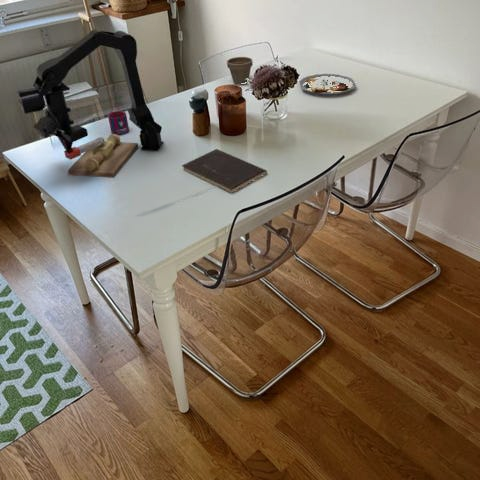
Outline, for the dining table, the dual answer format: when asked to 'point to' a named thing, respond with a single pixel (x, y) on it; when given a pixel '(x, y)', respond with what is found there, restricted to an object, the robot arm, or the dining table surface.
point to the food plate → (318, 90)
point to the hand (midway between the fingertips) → (68, 151)
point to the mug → (118, 122)
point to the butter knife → (198, 193)
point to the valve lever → (83, 148)
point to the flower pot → (240, 68)
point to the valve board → (105, 164)
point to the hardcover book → (224, 170)
